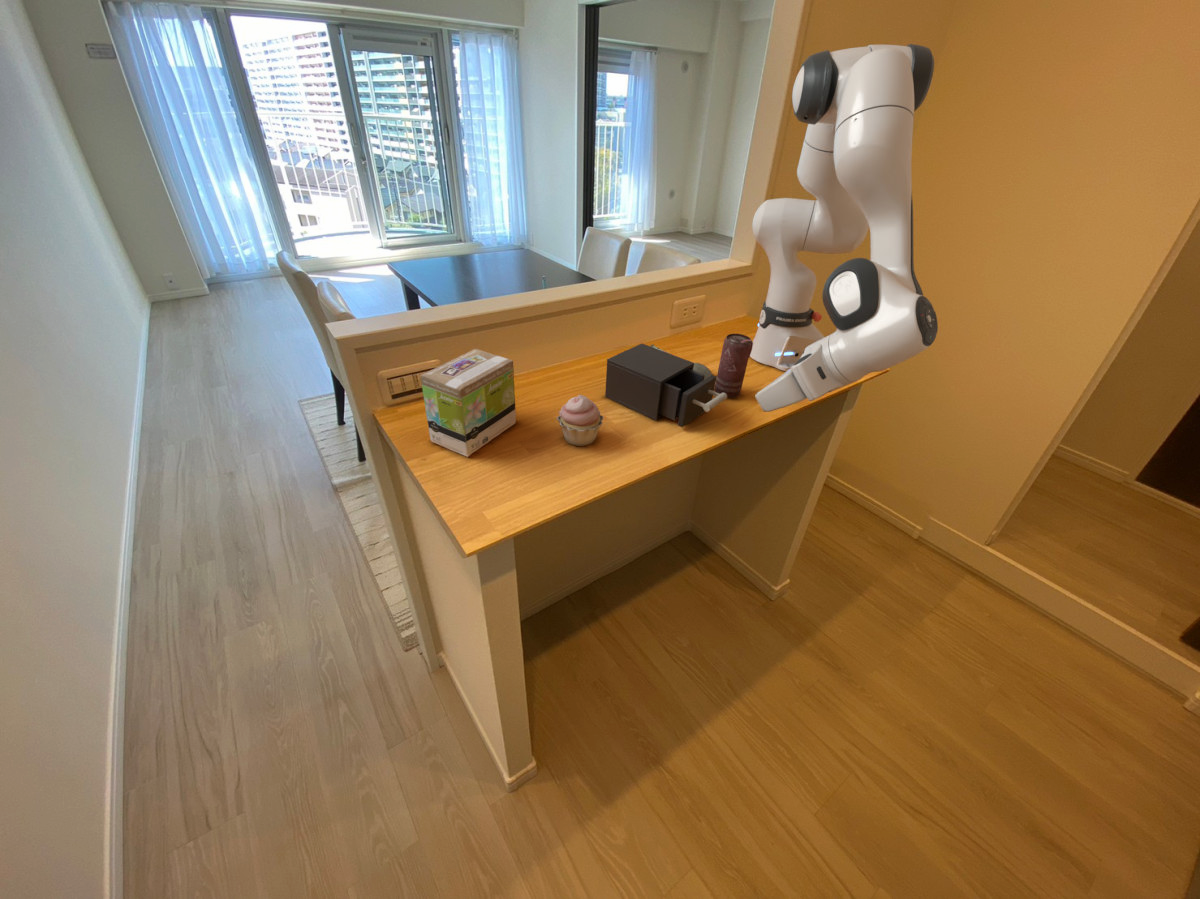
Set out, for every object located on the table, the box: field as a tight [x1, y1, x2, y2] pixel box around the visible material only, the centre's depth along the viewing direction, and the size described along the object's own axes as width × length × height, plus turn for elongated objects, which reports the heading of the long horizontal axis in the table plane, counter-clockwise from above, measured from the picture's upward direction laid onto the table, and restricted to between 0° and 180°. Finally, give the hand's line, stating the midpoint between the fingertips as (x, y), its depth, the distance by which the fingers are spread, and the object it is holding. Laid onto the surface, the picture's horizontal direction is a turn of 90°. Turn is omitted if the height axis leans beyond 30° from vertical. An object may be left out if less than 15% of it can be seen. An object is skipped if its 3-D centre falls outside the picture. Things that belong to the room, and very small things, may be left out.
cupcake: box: [555, 394, 604, 447], centre depth 96 cm, size 9×9×10 cm
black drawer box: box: [604, 343, 695, 422], centre depth 111 cm, size 15×13×10 cm
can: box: [714, 333, 753, 400], centre depth 113 cm, size 6×6×14 cm
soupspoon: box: [649, 344, 713, 380], centre depth 128 cm, size 22×3×7 cm
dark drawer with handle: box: [659, 369, 728, 428], centre depth 106 cm, size 18×11×8 cm, turn 49°
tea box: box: [420, 348, 517, 458], centre depth 95 cm, size 15×10×15 cm, turn 151°
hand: (761, 395), depth 93 cm, fingers closed
